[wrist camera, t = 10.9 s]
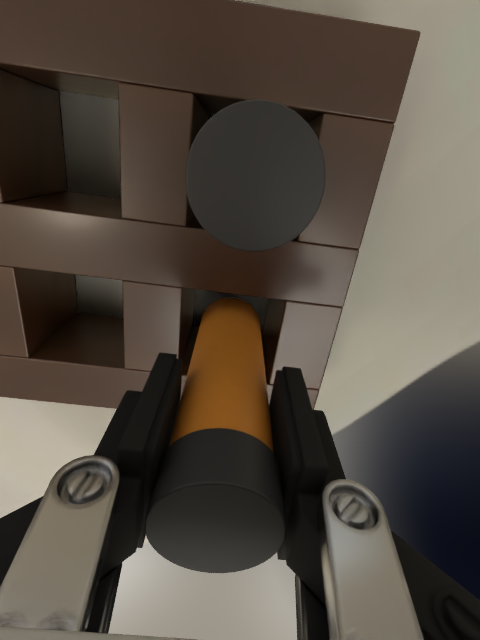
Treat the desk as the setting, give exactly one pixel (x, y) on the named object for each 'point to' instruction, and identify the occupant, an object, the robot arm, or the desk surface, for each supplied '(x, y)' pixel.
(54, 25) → the rack
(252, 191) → the sage tube
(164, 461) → the amber tube
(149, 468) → the robot arm
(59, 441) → the desk surface
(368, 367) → the desk surface
